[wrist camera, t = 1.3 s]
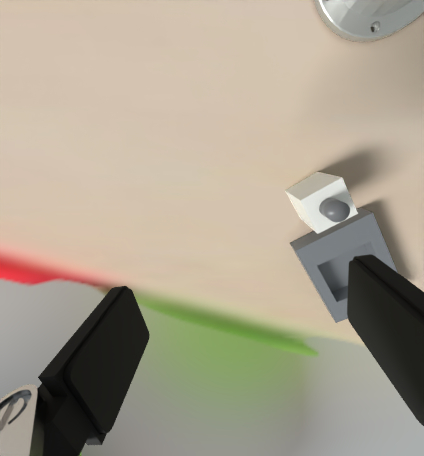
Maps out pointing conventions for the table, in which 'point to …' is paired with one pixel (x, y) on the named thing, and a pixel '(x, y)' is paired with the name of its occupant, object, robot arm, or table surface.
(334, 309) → the socket plate
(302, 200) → the plug
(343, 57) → the table surface
